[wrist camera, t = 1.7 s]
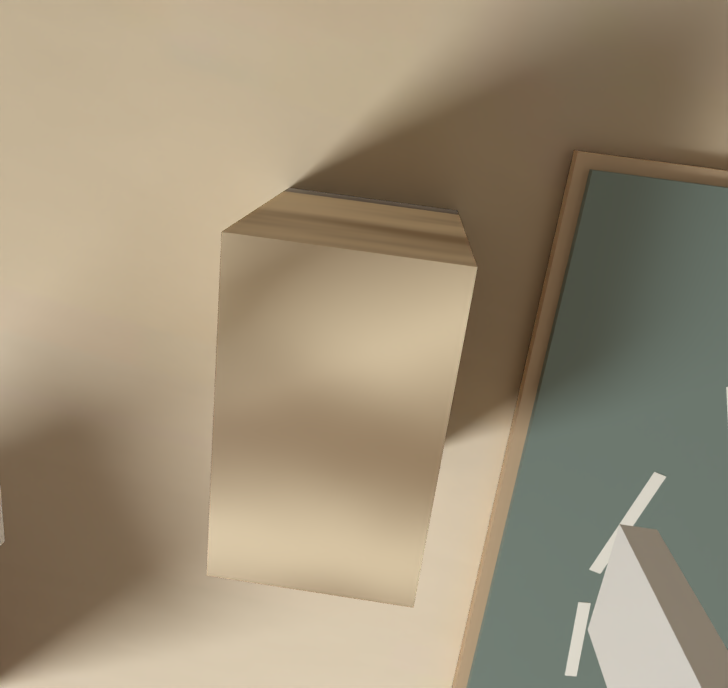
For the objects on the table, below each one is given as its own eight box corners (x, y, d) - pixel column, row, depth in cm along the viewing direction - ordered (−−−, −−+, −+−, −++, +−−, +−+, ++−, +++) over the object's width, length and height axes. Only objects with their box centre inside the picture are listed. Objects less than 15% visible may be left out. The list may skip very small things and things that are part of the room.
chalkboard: (574, 150, 22) (581, 152, 21) (969, 201, 21) (994, 206, 20) (442, 728, 31) (443, 748, 30) (714, 772, 31) (723, 793, 30)
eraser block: (289, 187, 23) (221, 232, 15) (457, 210, 23) (477, 267, 15) (269, 434, 27) (206, 575, 19) (415, 456, 26) (413, 607, 19)
